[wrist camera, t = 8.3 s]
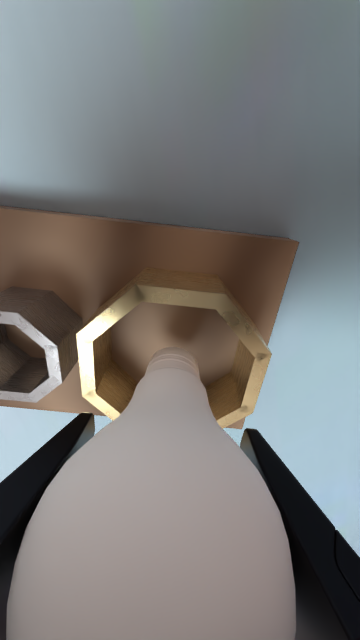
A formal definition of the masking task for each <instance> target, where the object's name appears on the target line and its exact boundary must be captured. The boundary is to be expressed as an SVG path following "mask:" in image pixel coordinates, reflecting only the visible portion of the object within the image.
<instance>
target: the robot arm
mask: <svg viewBox="0 0 360 640" xmlns="http://www.w3.org/2000/svg"><path fill="white" fill-rule="evenodd" d="M94 432H95V424H94V414H93V413H88V412H82V413H80V414H79V415H78V416H77V417H76V418H74V419H73V420H72V421H71V422H70V423H69V424H68V425H66V426H65V427H64V428H63V429H62V430H61V431H59V432H58V433H57V434H56V435H55V436H54V437H53V438H51V439H50V440H49V441H48V442H47V443H46V444H44V445H43V446H42V447H41V448H40V449H39V450H38V451H36V452H35V453H34V454H33V455H32V456H31V457H29V458H28V459H27V460H26V461H25V462H24V463H23V464H21V465H20V466H19V467H18V468H17V469H16V470H14V471H13V472H12V473H11V474H10V475H9V476H8V477H6V478H5V479H4V480H3V481H2V482H1V483H0V640H6V623H7V602H8V596H9V591H10V586H11V581H12V575H13V570H14V565H15V561H16V558H17V555H18V552H19V549H20V545H21V542H22V539H23V536H24V533H25V530H26V527H27V525H28V523H29V521H30V519H31V517H32V515H33V513H34V511H35V509H36V507H37V505H38V503H39V501H40V499H41V497H42V496H43V494H44V492H45V490H46V488H47V487H48V485H49V484H50V483H51V481H52V480H53V479H54V477H55V476H56V475H57V473H58V472H59V471H60V469H61V468H62V467H63V465H64V464H65V463H66V461H67V460H68V459H69V458H70V457H71V456H72V455H74V454H75V453H76V452H77V451H78V450H79V449H80V448H81V447H82V446H83V445H84V444H86V443H87V442H88V441H89V440H90V439H91V438H92V437H93V436H94ZM240 448H241V450H242V451H243V452H244V453H245V454H246V456H247V457H248V458H249V459H250V461H251V462H252V463H253V464H254V466H255V467H256V468H257V469H258V471H259V473H260V475H261V476H262V478H263V480H264V482H265V483H266V485H267V487H268V489H269V491H270V493H271V495H272V497H273V499H274V501H275V503H276V505H277V507H278V509H279V511H280V514H281V518H282V521H283V524H284V528H285V531H286V534H287V538H288V542H289V548H290V553H291V561H292V568H293V575H294V582H295V595H296V634H295V640H360V557H359V556H358V555H357V554H356V552H355V551H354V550H353V549H352V548H351V546H350V545H349V544H348V543H347V541H346V540H345V539H344V538H343V536H342V535H341V534H340V533H339V531H338V530H335V527H334V525H333V524H332V523H331V522H330V520H329V519H328V518H327V517H326V515H325V514H324V513H323V512H322V510H321V509H320V508H319V507H318V505H317V504H316V503H315V502H314V500H313V499H312V498H311V497H310V495H309V494H308V493H307V492H306V490H305V489H304V488H303V487H302V485H301V484H300V483H299V482H298V480H297V479H296V478H295V477H294V475H293V474H292V473H291V472H290V470H289V469H288V468H287V467H286V465H285V464H284V463H283V462H282V460H281V459H280V458H279V457H278V455H277V454H276V453H275V452H274V450H273V449H272V448H271V447H270V445H269V444H268V443H267V442H266V440H265V439H264V438H263V437H262V435H261V434H260V433H259V432H258V431H257V430H256V429H249V428H246V429H245V430H244V433H243V437H242V440H241V443H240Z"/></svg>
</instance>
